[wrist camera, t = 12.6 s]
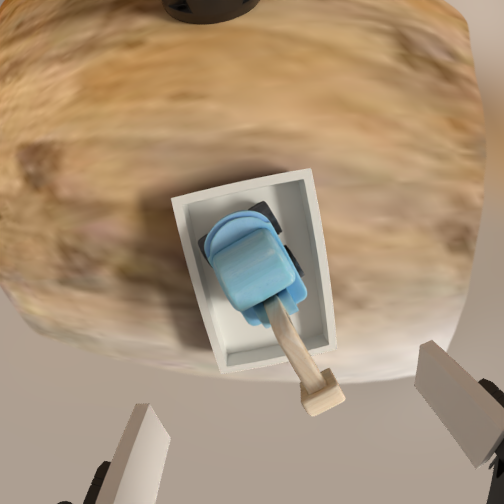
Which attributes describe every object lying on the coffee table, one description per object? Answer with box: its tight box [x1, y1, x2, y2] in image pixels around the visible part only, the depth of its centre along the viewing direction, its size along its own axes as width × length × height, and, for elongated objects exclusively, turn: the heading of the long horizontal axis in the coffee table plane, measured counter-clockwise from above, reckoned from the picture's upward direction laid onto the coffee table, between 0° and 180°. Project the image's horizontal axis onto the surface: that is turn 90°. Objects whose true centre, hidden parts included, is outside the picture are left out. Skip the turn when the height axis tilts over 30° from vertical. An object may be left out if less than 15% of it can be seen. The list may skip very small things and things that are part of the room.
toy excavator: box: [198, 201, 345, 417], centre depth 24 cm, size 9×17×17 cm, turn 29°
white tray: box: [171, 168, 337, 374], centre depth 33 cm, size 22×15×6 cm
